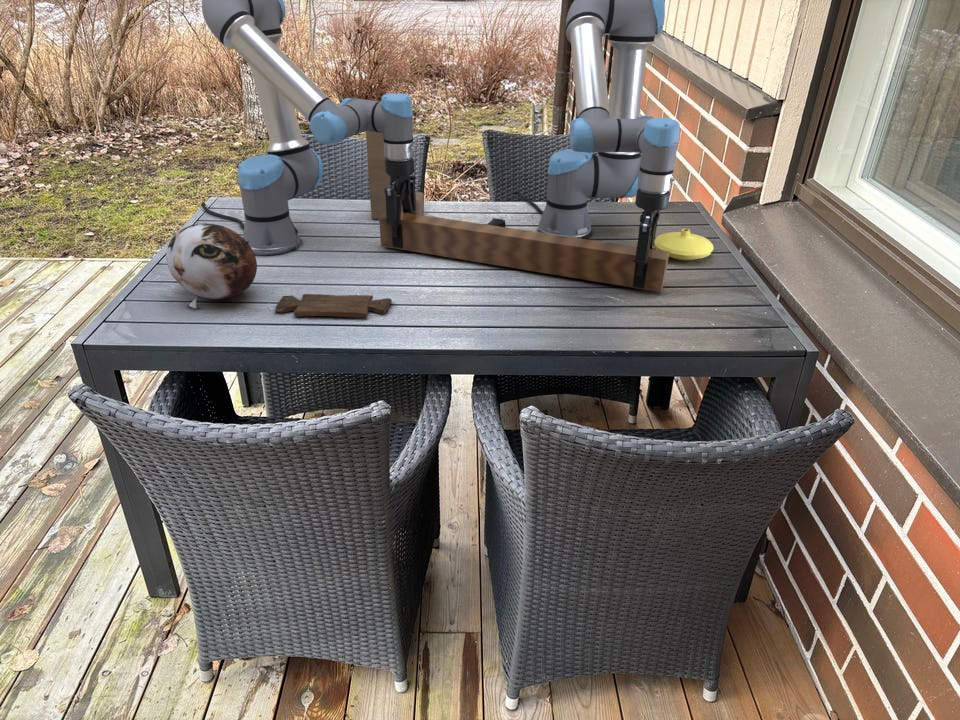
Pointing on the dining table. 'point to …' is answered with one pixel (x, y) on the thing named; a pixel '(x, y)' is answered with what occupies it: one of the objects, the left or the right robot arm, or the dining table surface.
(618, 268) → the bar
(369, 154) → the decorative block
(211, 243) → the cat face balloon
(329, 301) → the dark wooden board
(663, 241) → the vase
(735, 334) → the dining table surface
